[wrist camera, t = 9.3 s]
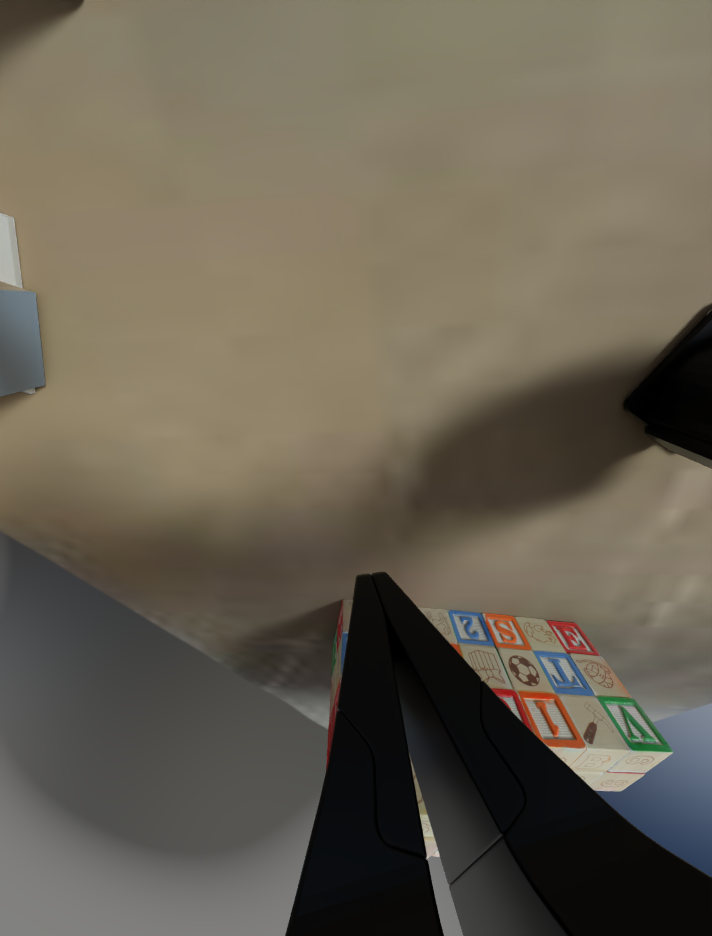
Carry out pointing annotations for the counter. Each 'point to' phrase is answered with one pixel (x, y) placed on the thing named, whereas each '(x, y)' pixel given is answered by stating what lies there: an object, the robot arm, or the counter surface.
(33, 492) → the counter surface
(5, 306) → the beech block
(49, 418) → the counter surface
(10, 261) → the felt mat
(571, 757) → the stack of blocks
